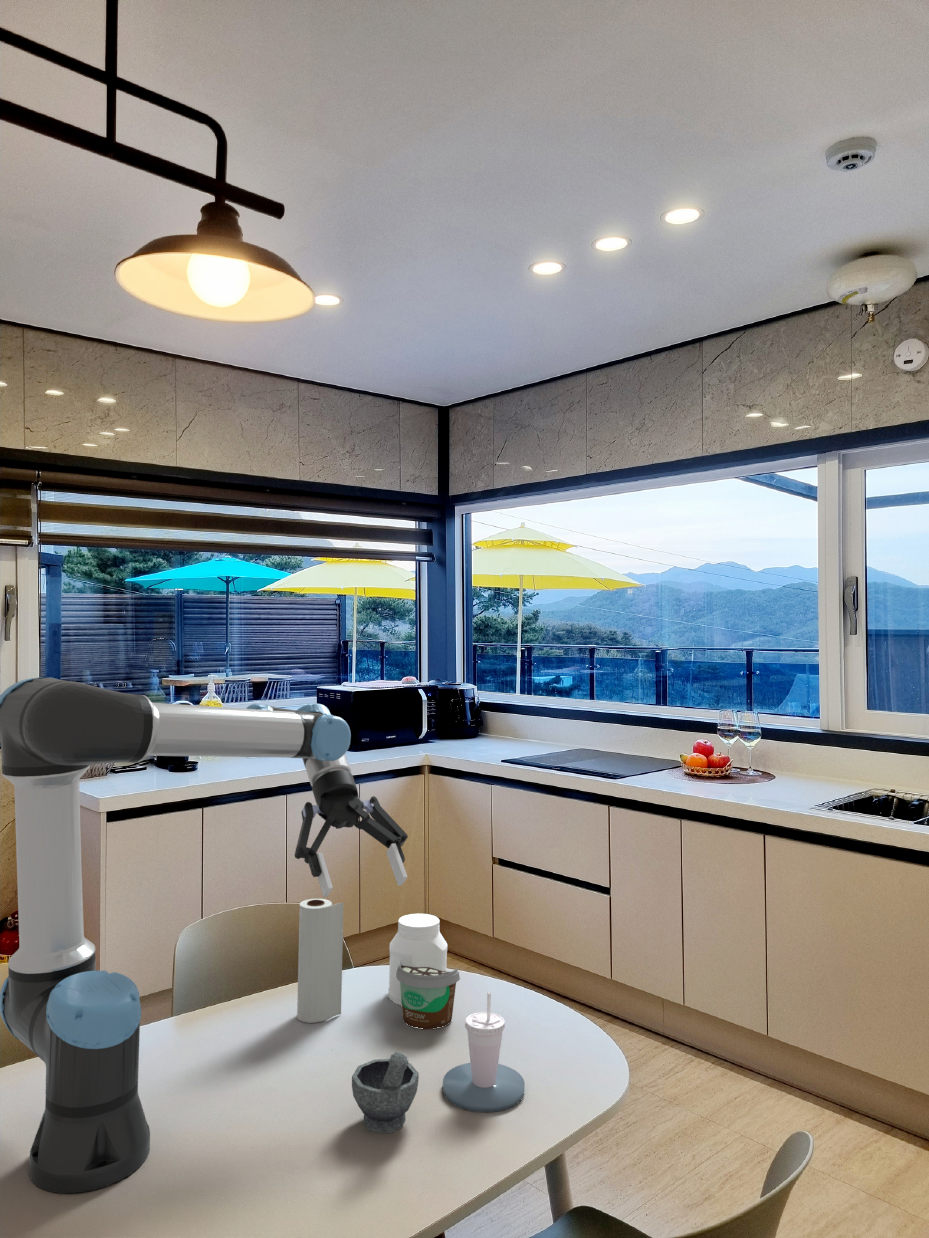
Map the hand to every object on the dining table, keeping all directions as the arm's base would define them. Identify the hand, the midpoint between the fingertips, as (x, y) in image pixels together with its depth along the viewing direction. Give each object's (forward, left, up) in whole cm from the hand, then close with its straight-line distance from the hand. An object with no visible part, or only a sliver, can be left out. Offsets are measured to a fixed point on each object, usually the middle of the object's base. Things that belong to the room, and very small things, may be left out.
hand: (366, 887), depth 143 cm
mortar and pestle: (-13, -8, -31) cm, 34 cm away
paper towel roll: (+17, +15, -31) cm, 38 cm away
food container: (+19, -5, -31) cm, 37 cm away
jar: (+31, -1, -31) cm, 44 cm away
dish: (-1, -20, -30) cm, 36 cm away
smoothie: (0, -20, -29) cm, 36 cm away
